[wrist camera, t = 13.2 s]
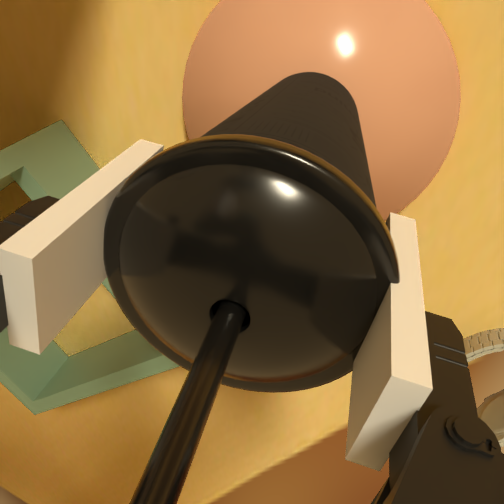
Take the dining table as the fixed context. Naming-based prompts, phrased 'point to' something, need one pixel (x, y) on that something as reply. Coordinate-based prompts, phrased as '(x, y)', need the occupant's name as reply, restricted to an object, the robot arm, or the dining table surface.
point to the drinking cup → (251, 257)
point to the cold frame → (125, 346)
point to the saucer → (338, 76)
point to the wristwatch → (496, 405)
